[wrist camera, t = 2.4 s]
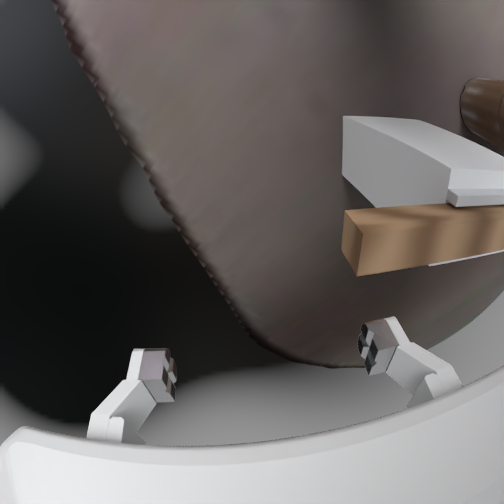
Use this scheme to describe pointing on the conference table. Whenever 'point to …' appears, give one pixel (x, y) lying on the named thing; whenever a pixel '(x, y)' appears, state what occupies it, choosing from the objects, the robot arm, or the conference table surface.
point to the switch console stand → (419, 165)
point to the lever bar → (419, 235)
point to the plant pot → (484, 109)
